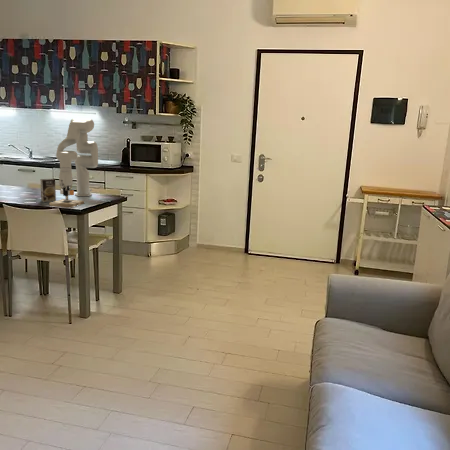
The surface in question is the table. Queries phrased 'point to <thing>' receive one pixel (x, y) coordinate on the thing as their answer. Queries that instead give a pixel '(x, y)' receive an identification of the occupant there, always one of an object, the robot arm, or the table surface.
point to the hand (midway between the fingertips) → (66, 195)
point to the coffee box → (48, 190)
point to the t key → (70, 192)
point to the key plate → (66, 203)
